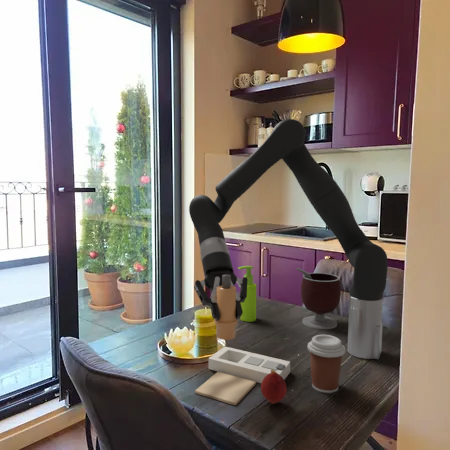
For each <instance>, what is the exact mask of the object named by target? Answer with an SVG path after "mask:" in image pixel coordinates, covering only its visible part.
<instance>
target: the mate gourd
mask: <svg viewBox="0 0 450 450" xmlns="http://www.w3.org/2000/svg"><path fill="white" fill-rule="evenodd" d="M296 271H299V272H301V273H302V274H303V275H302V279H301V284H300V296H301V298H300V299H301V302H302V304H303V306H304V307H305V308H306V310H308V311H310V312H312V313H314V314H315V315H309V316H305V317H303V318H302V324H303V325H304V326H306V327H308V328H310V329H317V330H331V329H334V328H337V327H338V322H337V320H336V319H334V318H332V317H328V316H325V315H326V314H329V313H333V312H334V311H335V310H336V309H337V308H338V306H339V305H340V301H341V294H342V287H341V280H340V278H341V277H340V276H338V275H336V274H331V273H326V272H307V271H305V270H303V269H301V268H299V267H297V268H296Z"/></svg>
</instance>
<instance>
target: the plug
mask: <svg viewBox="0 0 450 450" xmlns="http://www.w3.org/2000/svg"><path fill="white" fill-rule="evenodd" d="M236 290H237V287H236V286H235V285H234V286H231V275H228V274H225V275H222V286H218V287H217V299H216V303H217V304H218V309H219V314H220V319H219V321H215V319H213V320H214V324H215V325H216V338H218V339H219V340H223V341H224V340H225V341H230V340H233V339H235V338H236V331H237V329H236V325H238V323H239V322H238V321H239V319H236Z"/></svg>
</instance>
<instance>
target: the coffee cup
mask: <svg viewBox="0 0 450 450" xmlns="http://www.w3.org/2000/svg"><path fill="white" fill-rule="evenodd" d="M306 347H307V348H306V349H307V350H308V352H309V353H310V357H309V358H310V370H311V372H310V373H311V386H312V388H313V389H314V390H316V391H317V392H319V393H324V394H333V393H336V392H337V391H338V390H339V385H340V377H341V367H342V360H343V356H344V355H345V354H346V347H345V346H344V345H343V343H342V340H341V339H340V338H338V337H336V336H334V335H331V334H318V335H314V336H312V338H311V340H310V341H309V342H308V343H307V346H306Z"/></svg>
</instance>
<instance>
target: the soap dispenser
mask: <svg viewBox="0 0 450 450" xmlns="http://www.w3.org/2000/svg"><path fill="white" fill-rule="evenodd" d="M237 269H238V270H241V271H242V270H244V269H245V270H246V273H245V274H244V275H243V278H244V277H246V278H247V279H248V280H247V297H246V299H245V301H244V302H243V303H242V302H241V307H242V311H243V313H242V315H241V317H240V319H239V320H240V321H242V322H248V323H252V322H255V321H257V284H256V283H254V275H253V274H252V269H254V267H253V266H251V265H243V266H241V265H240V266H239V267H237Z"/></svg>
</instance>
